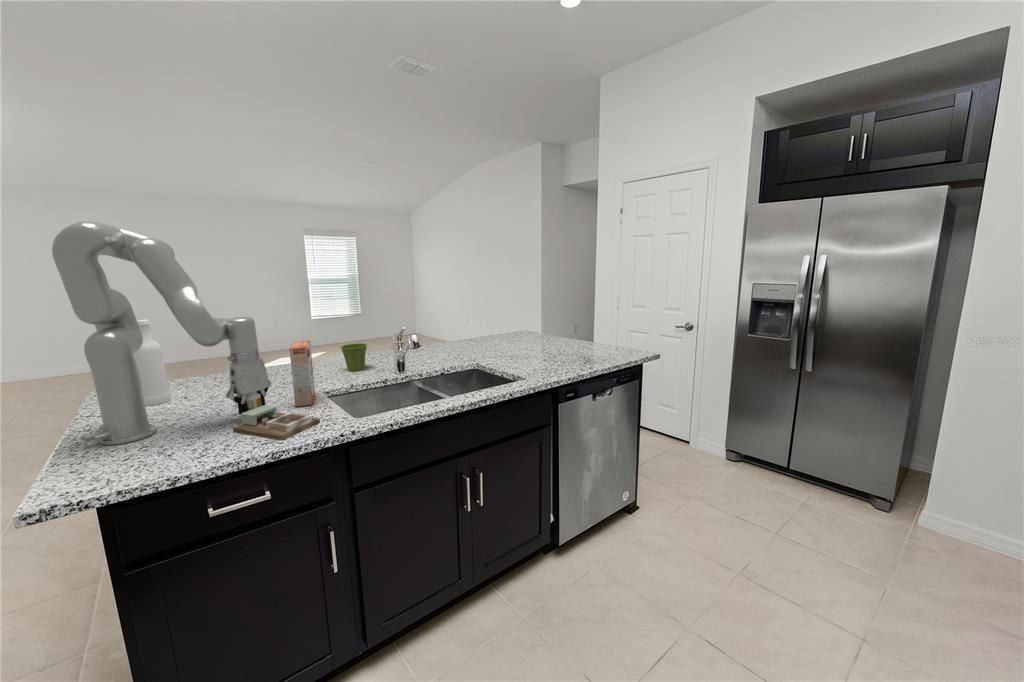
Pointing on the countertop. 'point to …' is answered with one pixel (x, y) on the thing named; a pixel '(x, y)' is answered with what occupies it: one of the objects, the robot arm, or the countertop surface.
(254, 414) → the block
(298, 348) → the cracker box
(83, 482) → the countertop surface
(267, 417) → the board
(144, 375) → the bottle
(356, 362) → the plant pot
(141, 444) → the countertop surface
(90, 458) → the countertop surface
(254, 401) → the supplement bottle
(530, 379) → the countertop surface
